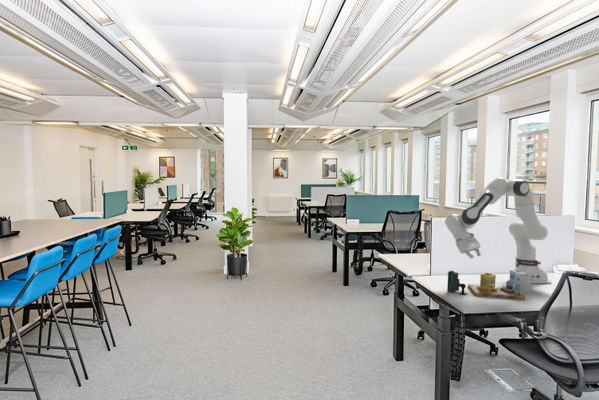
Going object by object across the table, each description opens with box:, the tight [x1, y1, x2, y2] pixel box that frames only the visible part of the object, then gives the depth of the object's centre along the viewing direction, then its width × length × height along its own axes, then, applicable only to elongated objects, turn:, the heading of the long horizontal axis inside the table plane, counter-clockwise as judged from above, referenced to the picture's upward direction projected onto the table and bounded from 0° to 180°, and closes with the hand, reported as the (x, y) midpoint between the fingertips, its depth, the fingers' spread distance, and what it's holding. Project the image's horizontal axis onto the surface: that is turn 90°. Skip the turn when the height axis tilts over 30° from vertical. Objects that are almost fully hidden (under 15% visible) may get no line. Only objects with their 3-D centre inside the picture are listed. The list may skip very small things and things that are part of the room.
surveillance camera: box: [446, 270, 468, 296], centre depth 223 cm, size 6×12×10 cm
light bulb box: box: [509, 269, 531, 292], centre depth 235 cm, size 11×7×11 cm, turn 3°
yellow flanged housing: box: [477, 271, 499, 292], centre depth 226 cm, size 11×11×9 cm
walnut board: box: [467, 283, 526, 301], centre depth 224 cm, size 26×18×8 cm
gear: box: [499, 279, 515, 293], centre depth 223 cm, size 10×9×6 cm
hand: (476, 256), depth 234 cm, fingers open, 8 cm apart
